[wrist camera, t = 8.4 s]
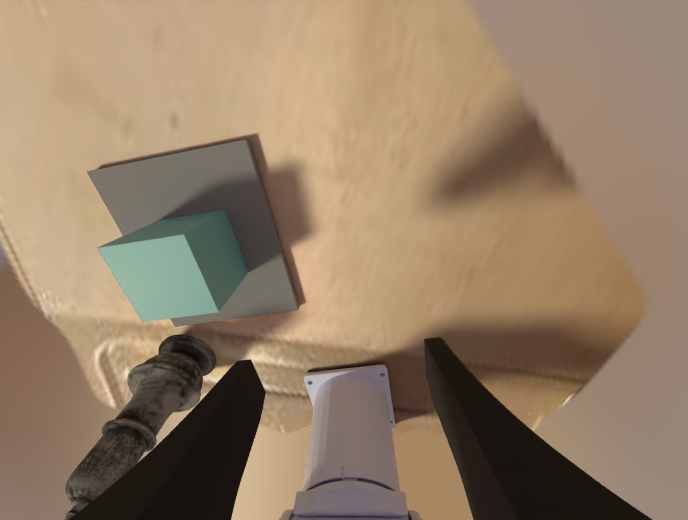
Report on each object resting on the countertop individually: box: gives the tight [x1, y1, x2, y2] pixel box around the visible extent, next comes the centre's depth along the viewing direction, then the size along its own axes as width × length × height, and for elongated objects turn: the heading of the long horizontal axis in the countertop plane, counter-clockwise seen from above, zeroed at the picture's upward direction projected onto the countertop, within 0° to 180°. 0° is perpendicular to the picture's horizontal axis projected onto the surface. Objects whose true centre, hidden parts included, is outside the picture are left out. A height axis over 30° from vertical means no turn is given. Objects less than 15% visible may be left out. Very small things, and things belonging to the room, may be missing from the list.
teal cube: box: [97, 210, 248, 322], centre depth 17 cm, size 5×5×5 cm
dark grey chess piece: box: [64, 335, 216, 520], centre depth 20 cm, size 6×6×12 cm
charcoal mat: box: [87, 139, 299, 327], centre depth 20 cm, size 13×11×1 cm
